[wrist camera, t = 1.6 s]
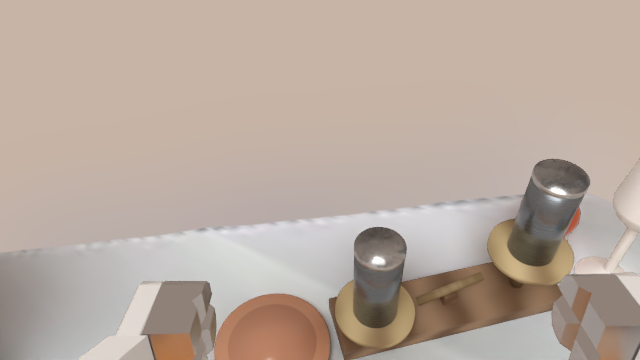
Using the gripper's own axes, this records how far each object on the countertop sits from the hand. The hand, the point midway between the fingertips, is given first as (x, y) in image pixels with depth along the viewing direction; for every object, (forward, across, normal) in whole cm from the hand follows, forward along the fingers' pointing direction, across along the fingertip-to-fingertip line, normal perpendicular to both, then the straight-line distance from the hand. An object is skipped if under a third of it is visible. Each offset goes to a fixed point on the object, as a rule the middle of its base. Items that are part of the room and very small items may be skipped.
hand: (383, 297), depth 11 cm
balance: (+34, +13, -35) cm, 51 cm away
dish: (+29, -8, -36) cm, 47 cm away
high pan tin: (+34, +22, -26) cm, 48 cm away
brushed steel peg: (+31, +4, -32) cm, 45 cm away
